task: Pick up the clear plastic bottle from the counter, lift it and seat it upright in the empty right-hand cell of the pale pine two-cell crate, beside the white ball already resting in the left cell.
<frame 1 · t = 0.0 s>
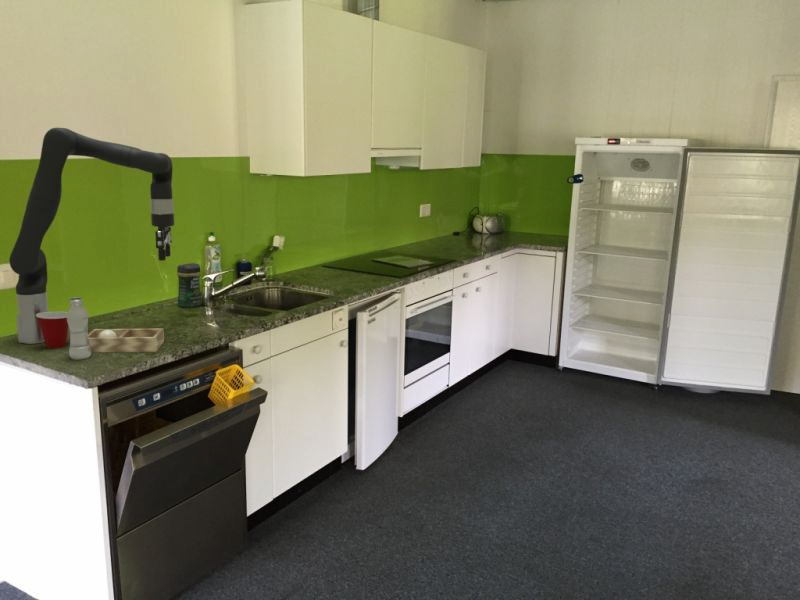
hand: (164, 258, 236), 29 cm above the worktop, fingers open, 8 cm apart
white ball: (108, 346, 228), point 1 cm above the worktop, touching crate
coffee jar: (190, 306, 292), on the worktop
plastic cup: (57, 348, 229), on the worktop
crate: (125, 348, 229), on the worktop
plastic bottle: (80, 360, 217), on the worktop
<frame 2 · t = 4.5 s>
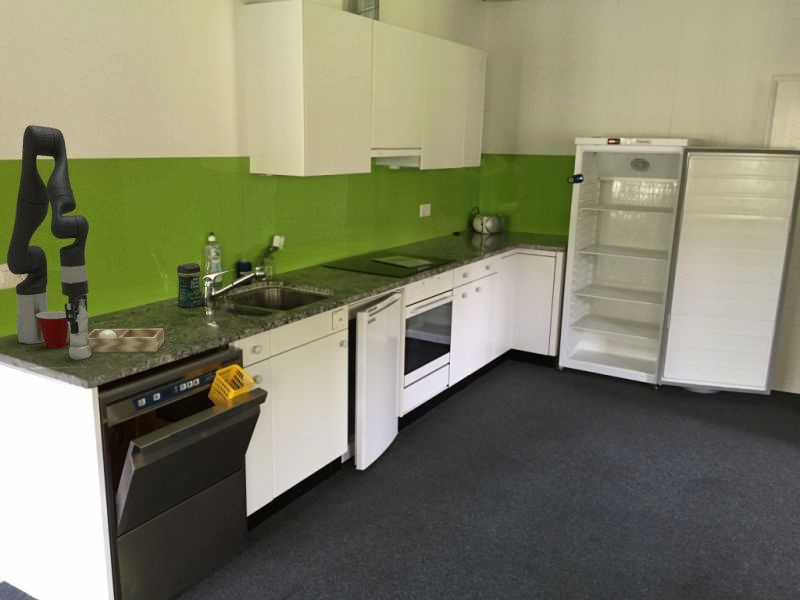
hand: (78, 330, 215), 10 cm above the worktop, fingers closed on plastic bottle, 6 cm apart
plastic bottle: (80, 359, 217), on the worktop, touching gripper
everything else where it was.
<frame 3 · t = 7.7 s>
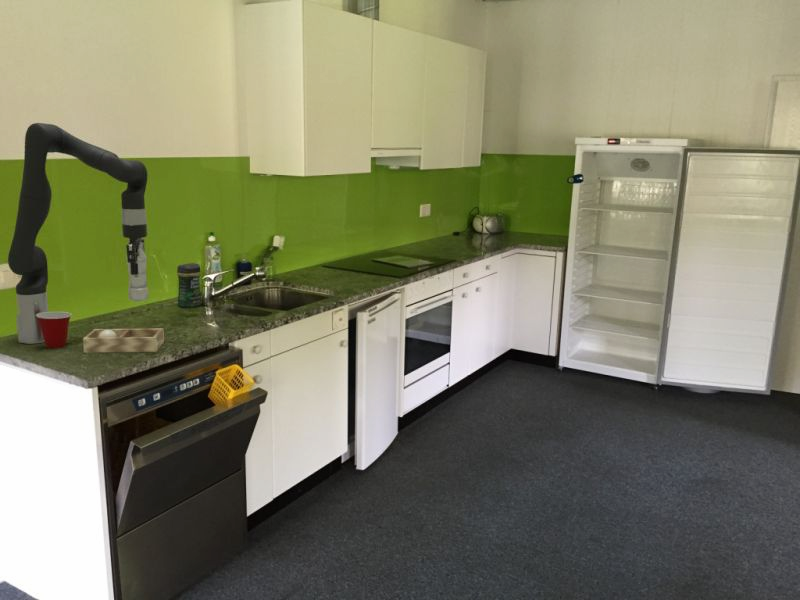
hand: (137, 272, 224), 26 cm above the worktop, fingers closed on plastic bottle, 6 cm apart
plastic bottle: (139, 301, 226), point 17 cm above the worktop, touching gripper
everything else where it was.
when the fingers open (12 cm above the worktop, at t = 11.3 s): plastic bottle drops 1 cm, resting on crate.
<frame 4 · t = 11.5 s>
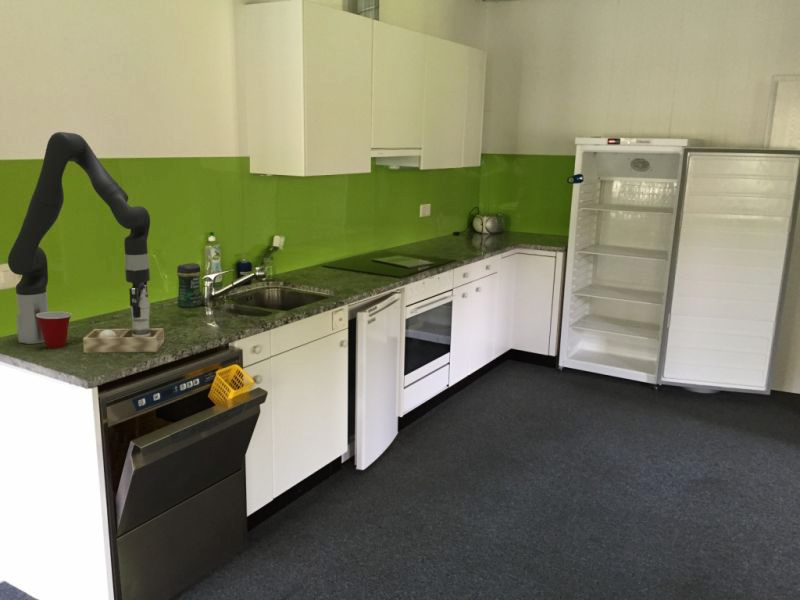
hand: (140, 314, 227), 12 cm above the worktop, fingers open, 8 cm apart
plastic bottle: (141, 346, 230), point 1 cm above the worktop, touching crate
everything else where it was.
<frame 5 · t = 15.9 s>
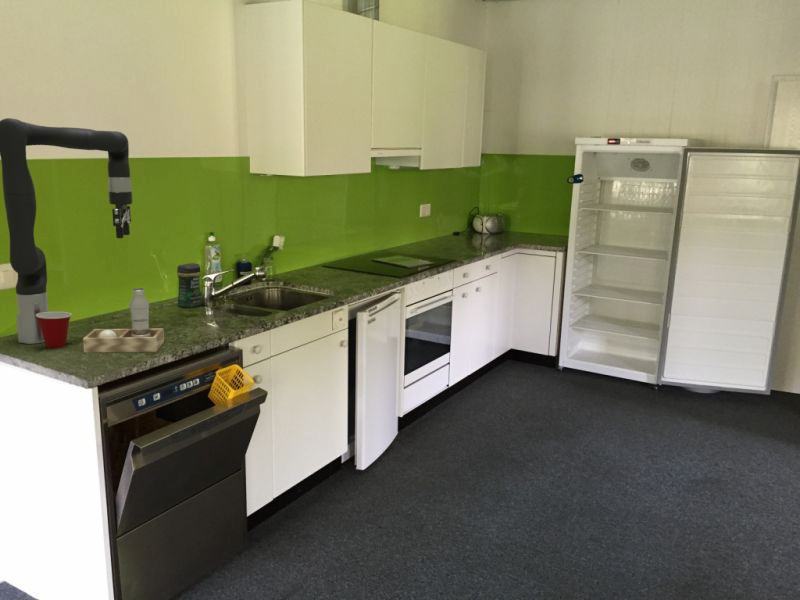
hand: (123, 236, 238), 36 cm above the worktop, fingers open, 8 cm apart
nothing on the worktop moved.
at the end: plastic bottle inside the target area on the crate (0.1 cm from its centre), point 0.6 cm above the crate's base; plastic bottle tilted 0°; the gripper is holding nothing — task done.
